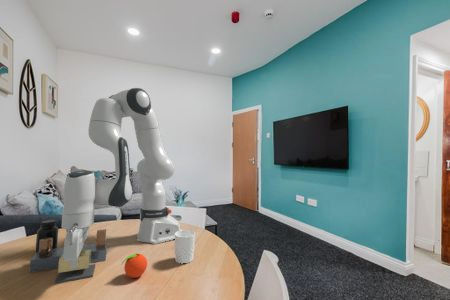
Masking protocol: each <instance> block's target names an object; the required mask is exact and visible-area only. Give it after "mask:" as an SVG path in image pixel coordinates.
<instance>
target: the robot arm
mask: <svg viewBox="0 0 450 300" xmlns="http://www.w3.org/2000/svg"><path fill="white" fill-rule="evenodd" d="M94 103H95V104H94V106H93V108H92V111H91V115H90V119H89V124H88V138H89V139H90V140H91V142H92V143H93V144H95V145H96V146H98V147H100V148H101V149H104V150H107V151H109V152H110V153H112V154H113V156H114V166H115V168H114V169H115V171H114V172H115V178H114V179H113V178H111V179H109V178H99V177H97V176H95V173H94V171H92V170H77V171H73V172H70V173H68V174H67V176H66V177H65V183H64V186H63V195H62V197H63V198H62V201H63V203H64V205H63V209H62V211H61V212H62V214H61V228H62V230H63V229H64V230H65V233H66V234H65V237H64V243H63V248H64V252H63V260H64V261H70V268H76V267H77V265H78V257H79V254H80V252H81V251H82V248H83V246H84V245H85V243H86V241H87V239H88V236H89V231H90V227H91V226H92V225H94V222H95V206H110V207H115V208H121V207H123V206H125V205H127V204H128V203H129V202H130V200H131V199H132V198H133V185H132V180H131V168H130V166H131V165H130V153H129V145H128V142H127V139H125V138H123V135H122V122H123V120H122V119H123V118H128V117H129V118H131V119H132V121H133V125H134V131H135V136H136V140H137V141H136V142H137V147H138V149H139V150H140V152H141V153H142V155H143V158H142V159H141V160H139V162H138V163H137V166H136V170H137V173H138V175H139V176H138V177H139V181H140V187H141V207H140V212H139V221H140V224H139V228H138V229H139V230H138V231H137V232H138V233H137V236H136V240H137V241H139V242H141V243H149V244H152V245H155V244H156V245H157V244H161V243H165V241H166V242H170V241H169V240H171V241H174V240H173V239H175V233H176V232H177V231H181V230H183V229H182V228H181V225H180V222H179V221H178V220H177V219H176V218H174V217H173V216H171V213H172V209H171V208H169V207H167V206H166V194H167V193H166V189H165V187H164V185H163V182H162V181H165V180H168V179H170V178H172V176H173V175H174V173H175V169H176V168H175V164H174V162H172V160H171V159H170V157H169V156H168V154H167V152H166V149H165V147H164V145H163V140H162V135H161V131H160V127H159V122H158V119H157V115H156V113H155V111H154V109H153V108H152V104H151V103H152V102H151V98H150V96H149V94H148V93H147V91H146V90H145V89H143V88H140V87H134V88H130V89H125V90H121V91H119V92H118V93H116V94H112V95H110V96H109V97H102V98H99V99H97V100H96V102H94Z"/></svg>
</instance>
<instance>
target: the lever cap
mask: <svg viewBox="0 0 450 300" xmlns="http://www.w3.org/2000/svg"><path fill="white" fill-rule="evenodd" d="M90 262H91V250H84V251H81V252H80V254H79V257H78V265H77V267H76V268H70V261H64V260H63V254H62V256H61V257H60V259H59V268H57V269H58V272H57V273H58V274H59V273H60V272H67V271H73V270H79V269H85V268H89V265H91V263H90Z"/></svg>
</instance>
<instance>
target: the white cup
mask: <svg viewBox="0 0 450 300" xmlns="http://www.w3.org/2000/svg"><path fill="white" fill-rule="evenodd" d="M195 241H196V232H195V231H194V230H192V229H191V230H190V229H182V230H181V231H177V232H176V233H175V240H174V254H175V255H174V256H175V258H174V259H175V263H177V264H180V263H181V264H180V265H184V264H183V263H187V264H190V263H191V261H192V260H194V253H195V244H196V242H195ZM189 262H190V263H189ZM192 262H193V261H192Z"/></svg>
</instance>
